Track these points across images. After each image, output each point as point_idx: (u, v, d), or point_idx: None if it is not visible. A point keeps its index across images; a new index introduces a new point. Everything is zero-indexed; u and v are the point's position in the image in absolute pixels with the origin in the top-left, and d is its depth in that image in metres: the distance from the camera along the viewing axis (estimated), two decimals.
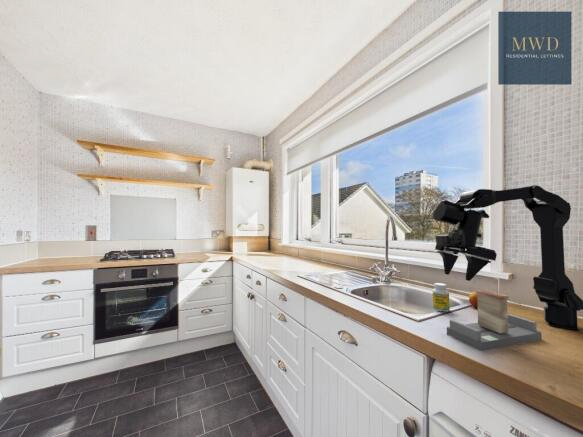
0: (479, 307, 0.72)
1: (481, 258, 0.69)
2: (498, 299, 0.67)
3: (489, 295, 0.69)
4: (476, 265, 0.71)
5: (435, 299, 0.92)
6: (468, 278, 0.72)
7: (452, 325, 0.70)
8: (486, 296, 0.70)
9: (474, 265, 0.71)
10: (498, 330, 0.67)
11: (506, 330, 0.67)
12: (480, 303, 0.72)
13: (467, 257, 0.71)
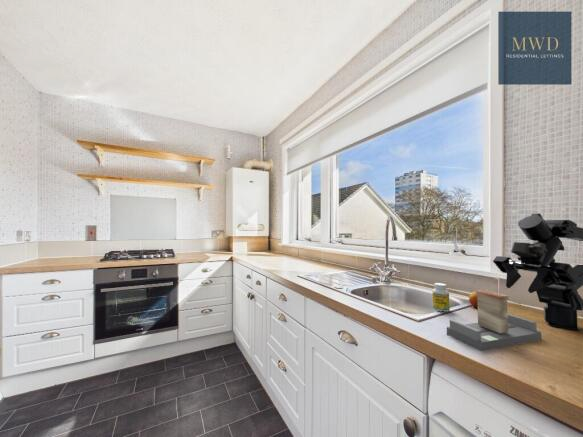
0: (479, 307, 0.72)
1: (555, 275, 0.69)
2: (498, 299, 0.67)
3: (489, 295, 0.69)
4: (543, 281, 0.70)
5: (435, 299, 0.92)
6: (531, 290, 0.70)
7: (452, 325, 0.70)
8: (486, 296, 0.70)
9: (542, 280, 0.70)
10: (498, 330, 0.67)
11: (506, 330, 0.67)
12: (480, 303, 0.72)
13: (540, 269, 0.70)
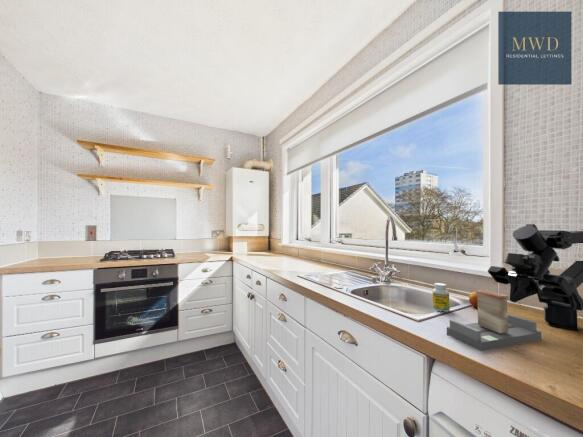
0: (479, 307, 0.72)
1: (537, 285, 0.70)
2: (498, 299, 0.67)
3: (489, 295, 0.69)
4: (526, 291, 0.72)
5: (435, 299, 0.92)
6: (514, 299, 0.72)
7: (452, 325, 0.70)
8: (486, 296, 0.70)
9: (525, 290, 0.72)
10: (498, 330, 0.67)
11: (506, 330, 0.67)
12: (480, 303, 0.72)
13: (523, 279, 0.72)
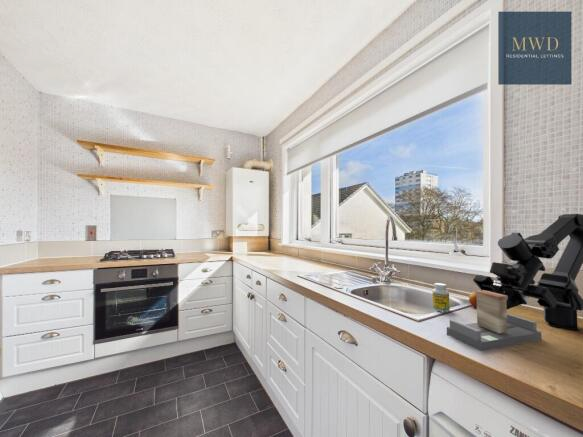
0: (478, 307, 0.72)
1: (521, 296, 0.68)
2: (497, 299, 0.67)
3: (488, 295, 0.69)
4: (510, 301, 0.70)
5: (435, 299, 0.92)
6: None
7: (452, 325, 0.70)
8: (485, 296, 0.70)
9: (509, 300, 0.70)
10: (497, 330, 0.67)
11: (505, 330, 0.67)
12: (479, 303, 0.72)
13: (508, 290, 0.70)
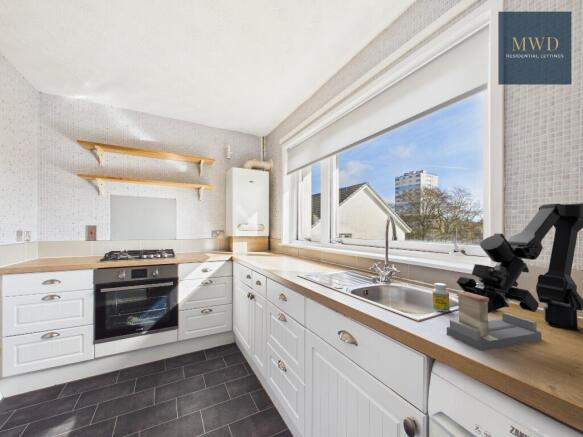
0: (460, 309, 0.70)
1: (503, 298, 0.67)
2: (478, 301, 0.65)
3: (469, 297, 0.67)
4: (493, 304, 0.68)
5: (435, 299, 0.92)
6: None
7: (452, 325, 0.70)
8: (466, 298, 0.68)
9: (491, 303, 0.68)
10: None
11: (486, 333, 0.65)
12: (461, 305, 0.70)
13: (489, 292, 0.68)
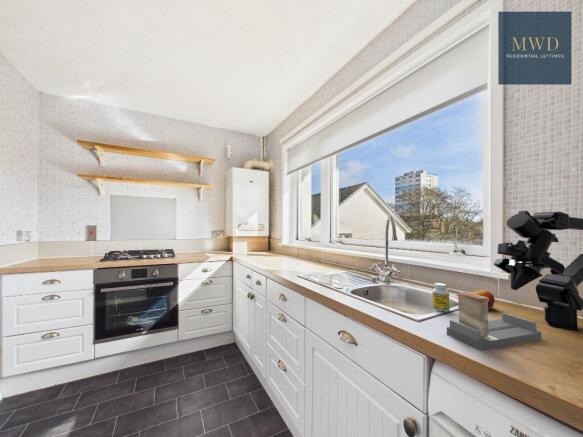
0: (460, 309, 0.70)
1: (532, 269, 0.72)
2: (478, 301, 0.65)
3: (469, 297, 0.67)
4: (526, 276, 0.74)
5: (435, 299, 0.92)
6: (515, 287, 0.74)
7: (452, 325, 0.70)
8: (466, 298, 0.68)
9: (524, 276, 0.74)
10: None
11: (486, 333, 0.65)
12: (461, 305, 0.70)
13: (518, 266, 0.74)
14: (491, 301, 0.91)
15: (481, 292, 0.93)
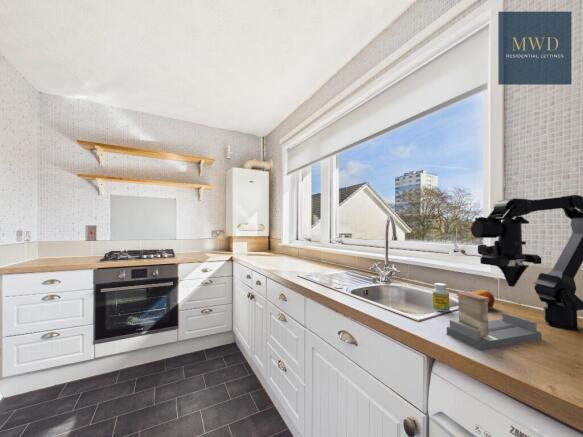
0: (460, 309, 0.70)
1: None
2: (478, 301, 0.65)
3: (469, 297, 0.67)
4: (509, 271, 0.78)
5: (435, 299, 0.92)
6: (509, 284, 0.79)
7: (452, 325, 0.70)
8: (466, 298, 0.68)
9: (507, 271, 0.79)
10: None
11: (486, 333, 0.65)
12: (461, 305, 0.70)
13: None
14: (491, 301, 0.91)
15: (481, 292, 0.93)
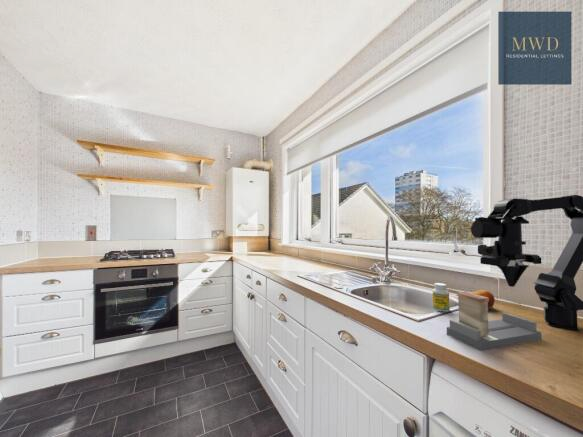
0: (460, 309, 0.70)
1: None
2: (478, 301, 0.65)
3: (469, 297, 0.67)
4: (509, 271, 0.78)
5: (435, 299, 0.92)
6: (509, 284, 0.79)
7: (452, 325, 0.70)
8: (466, 298, 0.68)
9: (507, 271, 0.79)
10: None
11: (486, 333, 0.65)
12: (461, 305, 0.70)
13: None
14: (491, 301, 0.91)
15: (481, 292, 0.93)
